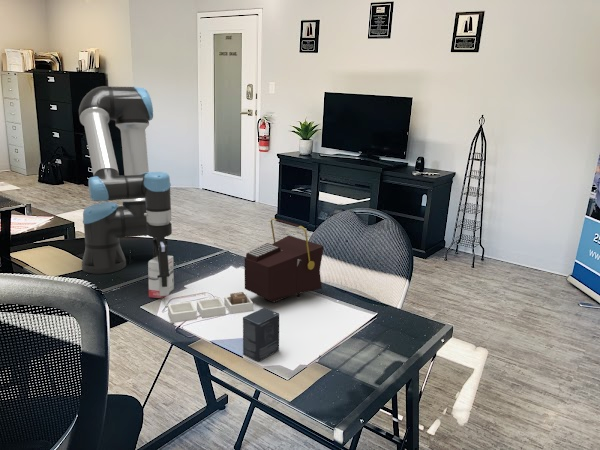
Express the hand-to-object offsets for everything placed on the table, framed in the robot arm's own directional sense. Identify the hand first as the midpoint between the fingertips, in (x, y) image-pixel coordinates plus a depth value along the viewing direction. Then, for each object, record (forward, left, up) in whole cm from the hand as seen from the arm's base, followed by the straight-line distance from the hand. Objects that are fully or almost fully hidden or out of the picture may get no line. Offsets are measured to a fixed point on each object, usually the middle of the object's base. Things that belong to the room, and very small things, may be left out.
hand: (161, 289), depth 161 cm
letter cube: (+19, +20, -1) cm, 28 cm away
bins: (+19, +11, -2) cm, 22 cm away
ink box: (0, 0, -2) cm, 2 cm away
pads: (+7, +11, -2) cm, 14 cm away
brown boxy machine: (+15, +36, -2) cm, 39 cm away
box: (+46, +18, -2) cm, 50 cm away
